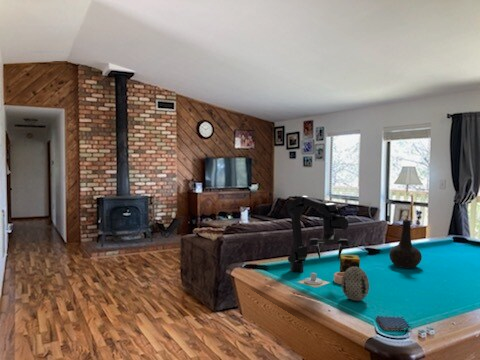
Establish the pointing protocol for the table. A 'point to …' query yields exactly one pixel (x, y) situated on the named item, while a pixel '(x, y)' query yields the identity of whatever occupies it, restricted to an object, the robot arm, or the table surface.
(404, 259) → the dark brown vase
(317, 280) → the lid
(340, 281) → the bowl
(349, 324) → the table surface
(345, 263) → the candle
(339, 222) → the robot arm
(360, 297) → the decorative egg
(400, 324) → the woven mat
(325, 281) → the mat
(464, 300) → the table surface
